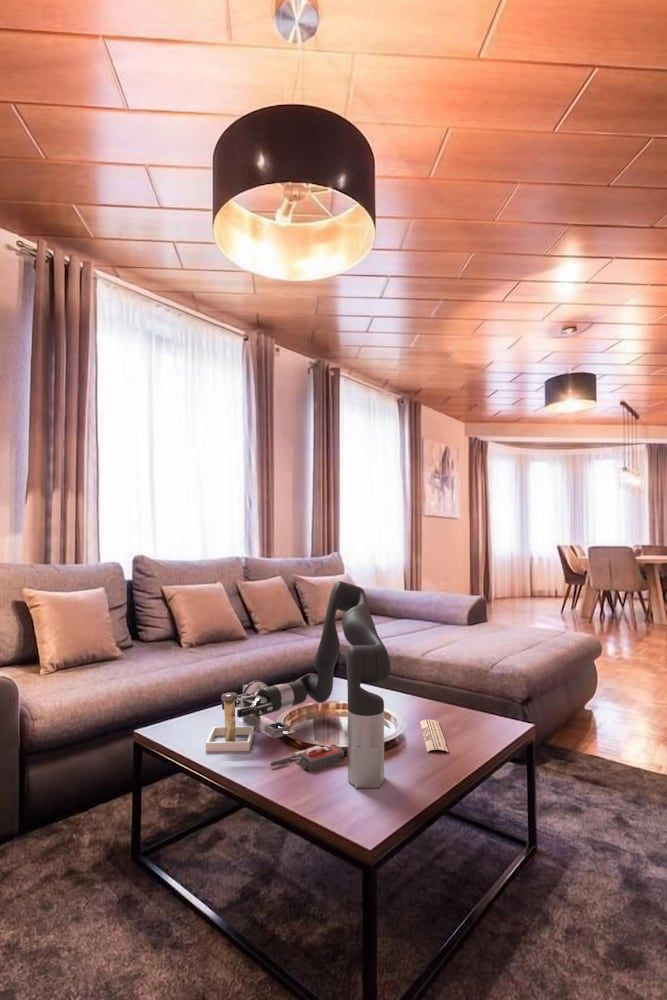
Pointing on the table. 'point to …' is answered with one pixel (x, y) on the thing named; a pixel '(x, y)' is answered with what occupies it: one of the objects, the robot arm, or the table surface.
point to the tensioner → (261, 721)
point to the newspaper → (433, 735)
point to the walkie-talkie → (315, 757)
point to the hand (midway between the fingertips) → (230, 709)
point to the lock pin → (229, 716)
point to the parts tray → (230, 745)
